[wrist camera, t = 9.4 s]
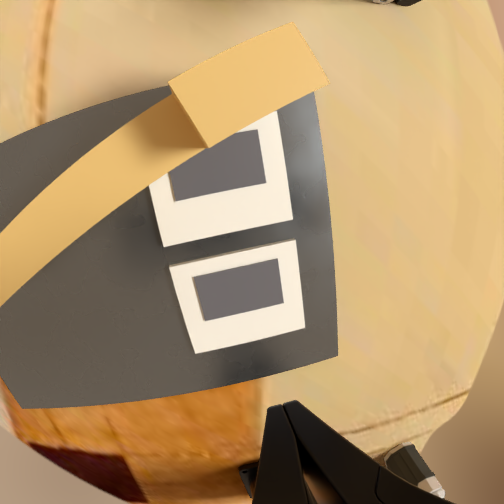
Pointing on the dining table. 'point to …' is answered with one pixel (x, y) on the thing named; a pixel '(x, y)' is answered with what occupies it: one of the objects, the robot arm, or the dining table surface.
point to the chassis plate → (149, 277)
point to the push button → (398, 2)
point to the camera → (412, 468)
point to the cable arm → (159, 144)
